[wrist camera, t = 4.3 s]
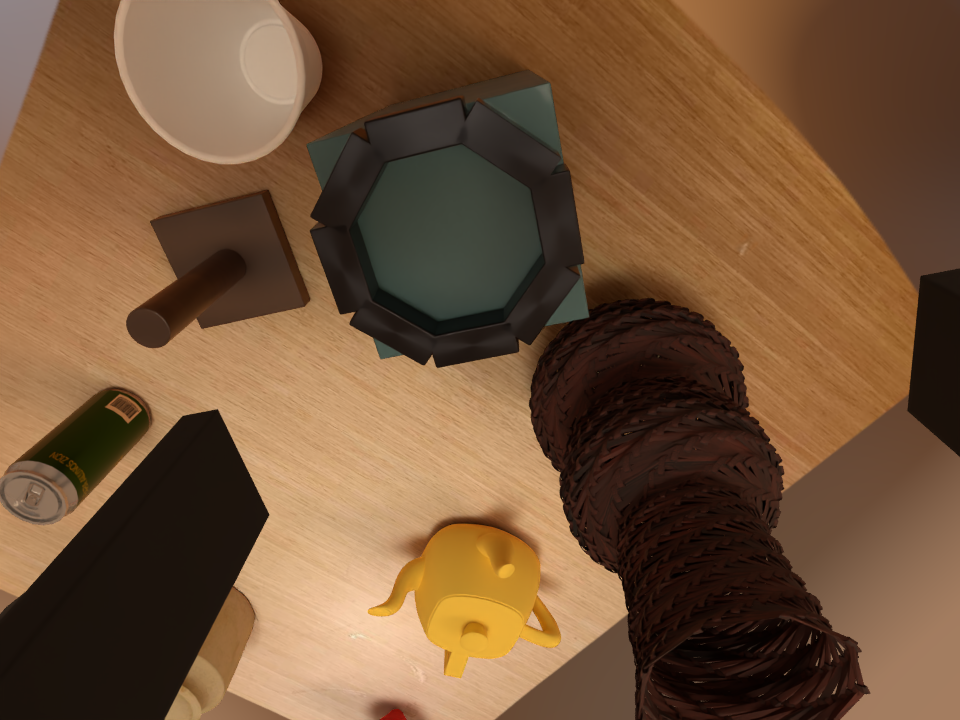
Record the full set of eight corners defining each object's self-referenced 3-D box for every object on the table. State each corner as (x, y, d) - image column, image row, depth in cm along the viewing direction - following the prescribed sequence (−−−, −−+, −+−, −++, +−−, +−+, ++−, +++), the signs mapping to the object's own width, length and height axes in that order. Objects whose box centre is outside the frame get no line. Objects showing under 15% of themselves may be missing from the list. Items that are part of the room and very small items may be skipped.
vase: (488, 370, 51) (475, 714, 25) (612, 229, 46) (771, 478, 19) (621, 462, 55) (734, 844, 29) (751, 343, 49) (1045, 682, 23)
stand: (388, 105, 42) (305, 144, 24) (528, 69, 41) (550, 82, 23) (426, 242, 46) (380, 360, 29) (554, 213, 45) (589, 317, 27)
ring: (290, 138, 24) (277, 143, 23) (550, 72, 23) (554, 73, 21) (371, 366, 29) (364, 383, 27) (591, 323, 27) (596, 337, 26)
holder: (159, 216, 46) (39, 273, 34) (268, 189, 45) (183, 239, 33) (209, 321, 50) (117, 406, 38) (310, 299, 49) (248, 379, 37)
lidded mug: (105, 600, 66) (4, 740, 52) (144, 540, 62) (45, 675, 48) (229, 657, 69) (164, 802, 56) (273, 605, 65) (215, 747, 52)
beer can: (104, 375, 53) (4, 456, 42) (162, 406, 54) (79, 493, 43) (84, 417, 55) (-16, 505, 44) (141, 446, 56) (56, 538, 45)
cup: (175, 29, 40) (71, 22, 31) (294, -56, 38) (222, -94, 28) (265, 164, 44) (199, 197, 34) (379, 95, 42) (341, 108, 32)
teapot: (510, 488, 57) (511, 567, 48) (563, 582, 62) (574, 669, 54) (384, 533, 60) (364, 615, 51) (445, 619, 65) (437, 707, 57)
